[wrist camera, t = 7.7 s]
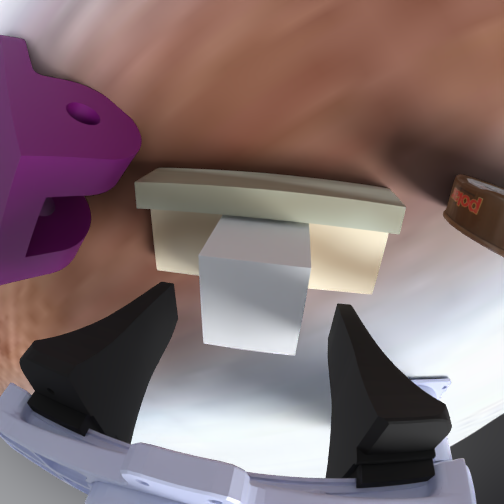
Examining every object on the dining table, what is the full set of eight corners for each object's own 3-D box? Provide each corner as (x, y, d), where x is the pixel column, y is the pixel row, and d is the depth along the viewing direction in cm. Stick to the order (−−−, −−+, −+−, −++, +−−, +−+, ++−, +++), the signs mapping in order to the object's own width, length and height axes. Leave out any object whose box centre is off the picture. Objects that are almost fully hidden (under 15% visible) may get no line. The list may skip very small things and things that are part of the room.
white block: (296, 300, 20) (292, 366, 15) (226, 292, 20) (204, 354, 15) (308, 215, 17) (311, 268, 12) (227, 207, 17) (198, 255, 12)
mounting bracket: (35, 119, 23) (95, 263, 20) (-35, 115, 16) (-10, 287, 13) (78, 38, 19) (163, 164, 16) (2, 19, 12) (21, 156, 9)
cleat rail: (368, 281, 20) (376, 310, 17) (165, 259, 21) (146, 284, 19) (389, 188, 17) (405, 207, 14) (158, 167, 18) (134, 181, 15)
